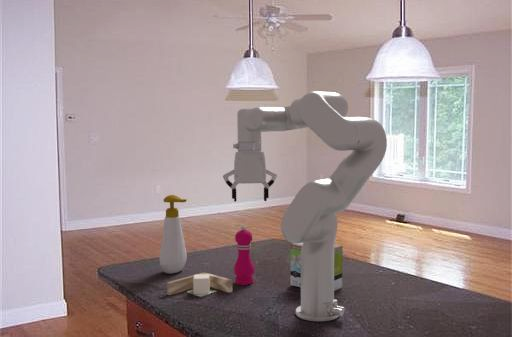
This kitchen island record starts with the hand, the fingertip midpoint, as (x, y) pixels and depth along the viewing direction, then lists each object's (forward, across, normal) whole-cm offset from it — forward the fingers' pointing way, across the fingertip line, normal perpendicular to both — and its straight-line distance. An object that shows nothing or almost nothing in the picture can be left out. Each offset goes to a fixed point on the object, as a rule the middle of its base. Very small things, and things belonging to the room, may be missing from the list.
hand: (250, 200), depth 173 cm
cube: (+30, -16, +2) cm, 34 cm away
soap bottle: (+31, -28, +28) cm, 50 cm away
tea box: (+31, +22, +5) cm, 38 cm away
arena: (+30, -16, +1) cm, 34 cm away
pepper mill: (+31, -2, +12) cm, 33 cm away
